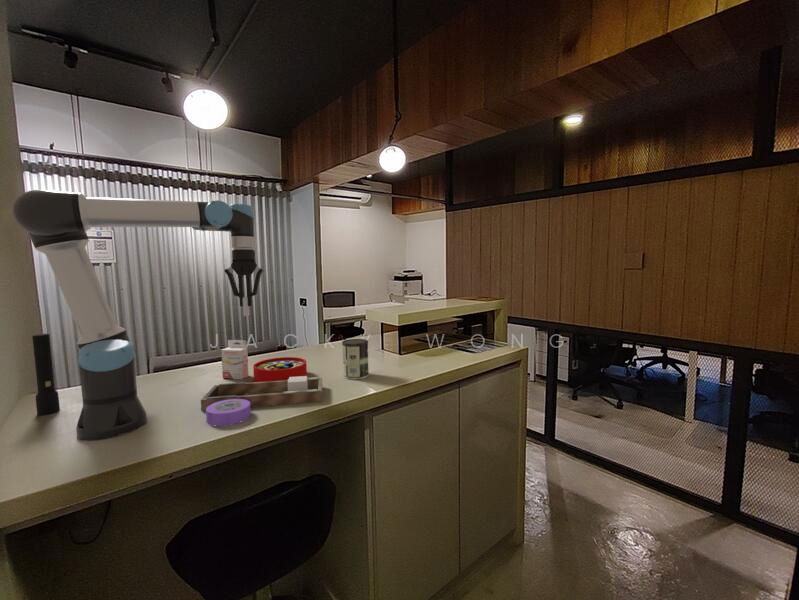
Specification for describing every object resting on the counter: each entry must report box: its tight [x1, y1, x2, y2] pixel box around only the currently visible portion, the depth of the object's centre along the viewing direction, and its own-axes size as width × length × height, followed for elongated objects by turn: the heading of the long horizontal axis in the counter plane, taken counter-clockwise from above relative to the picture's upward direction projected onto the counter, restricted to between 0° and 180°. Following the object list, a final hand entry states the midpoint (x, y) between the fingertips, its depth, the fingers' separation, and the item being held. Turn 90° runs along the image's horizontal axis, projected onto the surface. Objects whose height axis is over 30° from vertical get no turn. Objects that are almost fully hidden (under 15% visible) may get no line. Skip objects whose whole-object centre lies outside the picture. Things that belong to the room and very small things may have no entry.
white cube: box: [288, 375, 309, 391], centre depth 123 cm, size 6×6×6 cm
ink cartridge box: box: [221, 339, 249, 380], centre depth 145 cm, size 9×5×15 cm, turn 84°
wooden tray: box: [200, 377, 323, 412], centre depth 122 cm, size 36×14×4 cm, turn 101°
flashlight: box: [31, 333, 60, 416], centre depth 110 cm, size 5×24×5 cm
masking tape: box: [205, 399, 252, 427], centre depth 106 cm, size 12×12×4 cm
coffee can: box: [341, 338, 370, 381], centre depth 145 cm, size 10×10×14 cm
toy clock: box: [253, 356, 308, 382], centre depth 145 cm, size 20×6×20 cm
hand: (246, 315), depth 131 cm, fingers closed
